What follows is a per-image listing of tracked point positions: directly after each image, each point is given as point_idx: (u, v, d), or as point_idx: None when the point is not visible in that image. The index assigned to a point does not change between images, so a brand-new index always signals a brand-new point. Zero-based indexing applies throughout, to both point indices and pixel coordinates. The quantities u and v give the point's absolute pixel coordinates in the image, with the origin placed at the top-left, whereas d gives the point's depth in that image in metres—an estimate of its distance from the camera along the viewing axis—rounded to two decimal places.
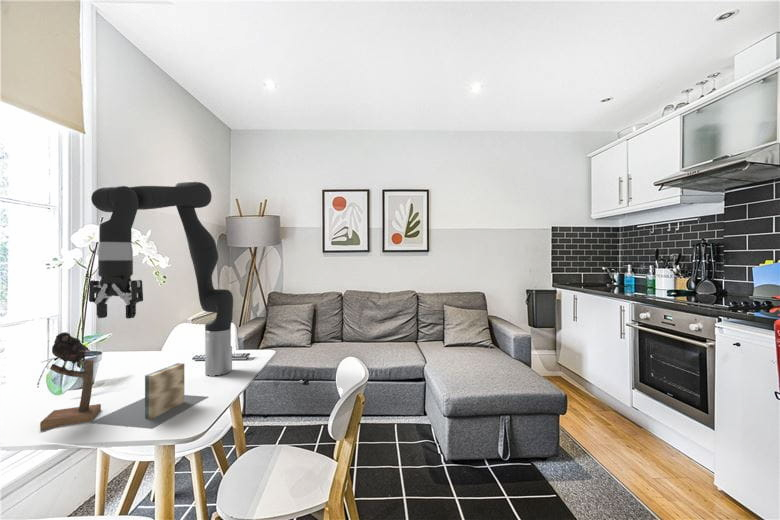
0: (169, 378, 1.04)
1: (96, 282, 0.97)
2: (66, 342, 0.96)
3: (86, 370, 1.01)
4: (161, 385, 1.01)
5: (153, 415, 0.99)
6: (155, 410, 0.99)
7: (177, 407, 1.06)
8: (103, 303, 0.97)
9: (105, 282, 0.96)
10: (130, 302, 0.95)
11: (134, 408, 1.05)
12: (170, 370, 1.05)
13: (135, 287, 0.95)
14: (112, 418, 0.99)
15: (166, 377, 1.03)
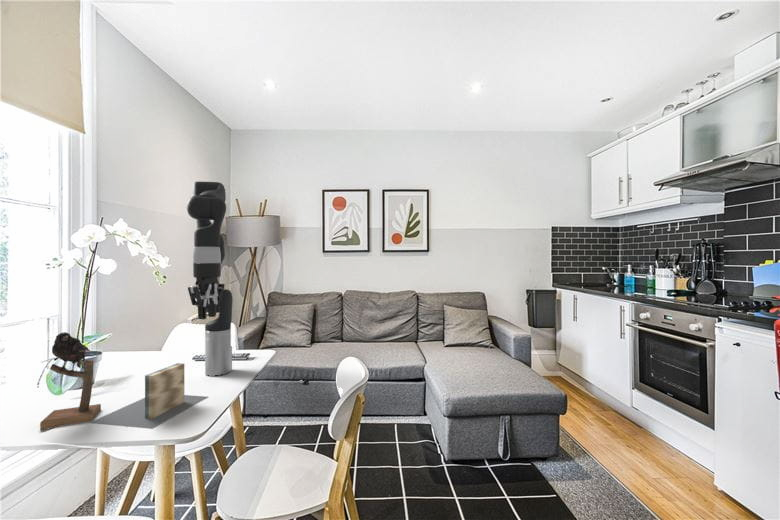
0: (169, 378, 1.04)
1: None
2: (66, 342, 0.96)
3: (86, 370, 1.01)
4: (161, 385, 1.01)
5: (153, 415, 0.99)
6: (155, 410, 0.99)
7: (177, 407, 1.06)
8: None
9: (205, 283, 1.06)
10: None
11: (134, 408, 1.05)
12: (170, 370, 1.05)
13: None
14: (112, 418, 0.99)
15: (166, 377, 1.03)
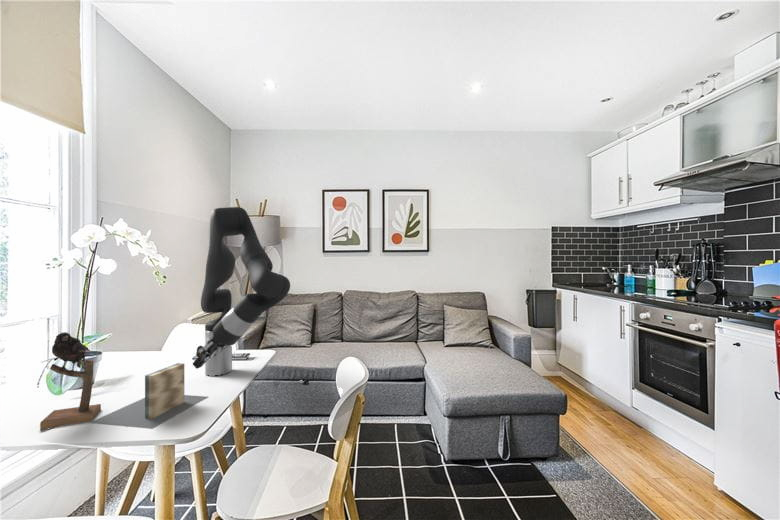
0: (169, 378, 1.04)
1: (205, 349, 0.97)
2: (66, 342, 0.96)
3: (86, 370, 1.01)
4: (161, 385, 1.01)
5: (153, 415, 0.99)
6: (155, 410, 0.99)
7: (177, 407, 1.06)
8: None
9: (217, 344, 0.99)
10: None
11: (134, 408, 1.05)
12: (170, 370, 1.05)
13: None
14: (112, 418, 0.99)
15: (166, 377, 1.03)
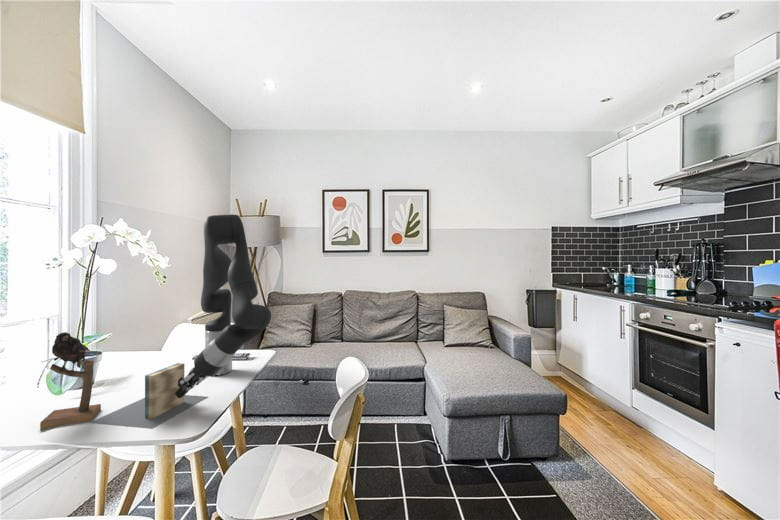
0: (169, 378, 1.04)
1: (186, 381, 0.98)
2: (66, 342, 0.96)
3: (86, 370, 1.01)
4: (161, 385, 1.01)
5: (153, 415, 0.99)
6: (155, 410, 0.99)
7: (177, 407, 1.06)
8: None
9: (199, 375, 1.00)
10: None
11: (134, 408, 1.05)
12: (170, 370, 1.05)
13: None
14: (112, 418, 0.99)
15: (166, 377, 1.03)
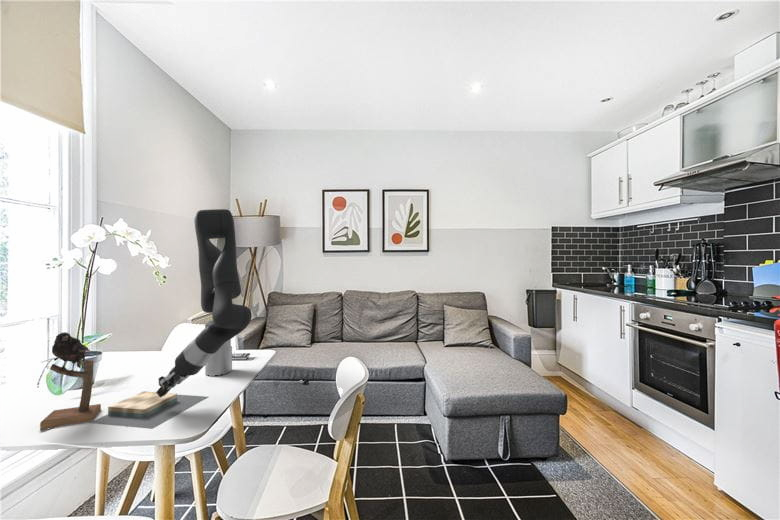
0: (134, 399, 1.06)
1: (167, 380, 0.99)
2: (66, 342, 0.96)
3: (86, 370, 1.01)
4: (129, 403, 1.03)
5: (143, 408, 0.99)
6: (141, 407, 1.00)
7: (177, 407, 1.06)
8: None
9: (179, 374, 1.01)
10: None
11: None
12: (129, 398, 1.07)
13: None
14: (112, 418, 0.99)
15: (130, 400, 1.05)
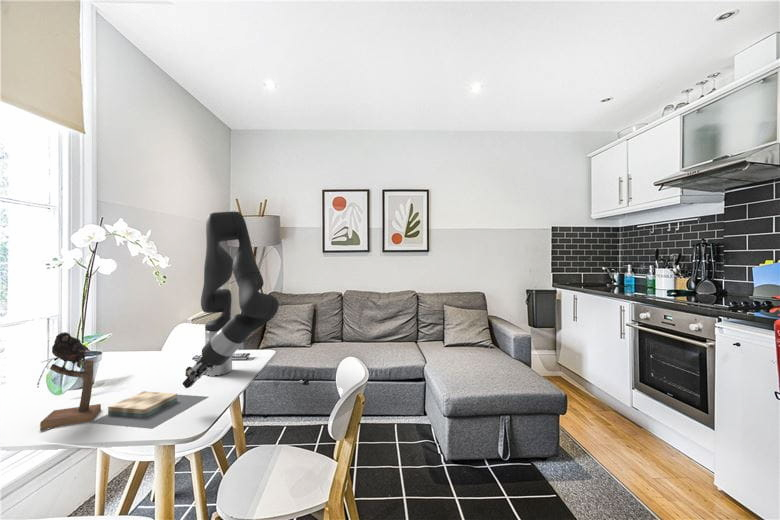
0: (134, 399, 1.06)
1: (194, 370, 0.97)
2: (66, 342, 0.96)
3: (86, 370, 1.01)
4: (129, 403, 1.03)
5: (143, 408, 0.99)
6: (141, 407, 1.00)
7: (177, 407, 1.06)
8: None
9: (206, 365, 1.00)
10: None
11: None
12: (129, 398, 1.07)
13: None
14: (112, 418, 0.99)
15: (130, 400, 1.05)
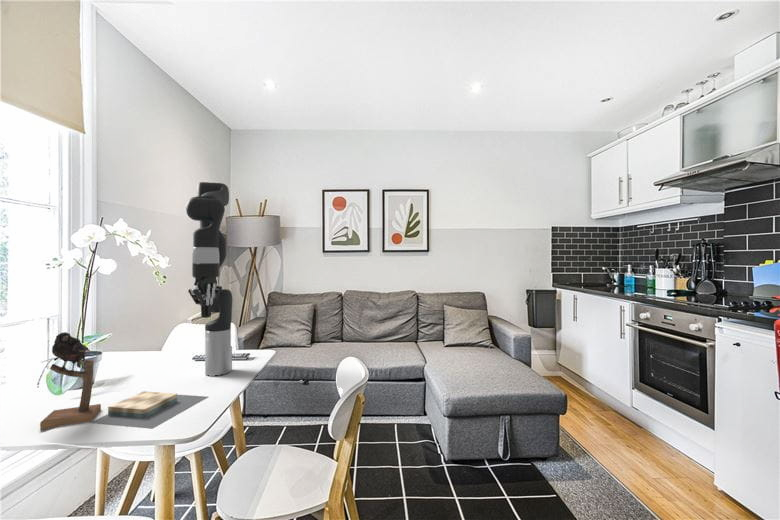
0: (134, 399, 1.06)
1: None
2: (66, 342, 0.96)
3: (86, 370, 1.01)
4: (129, 403, 1.03)
5: (143, 408, 0.99)
6: (141, 407, 1.00)
7: (177, 407, 1.06)
8: None
9: (204, 282, 1.08)
10: None
11: None
12: (129, 398, 1.07)
13: None
14: (112, 418, 0.99)
15: (130, 400, 1.05)
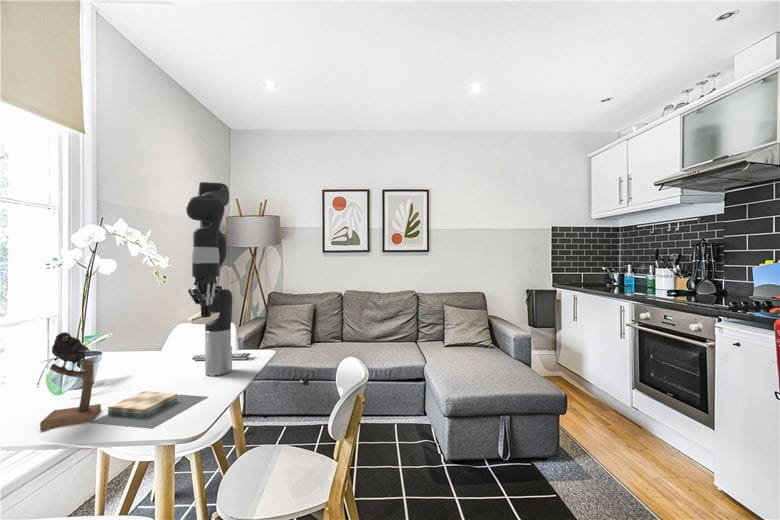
0: (134, 399, 1.06)
1: (196, 288, 1.05)
2: (66, 342, 0.96)
3: (86, 370, 1.01)
4: (129, 403, 1.03)
5: (143, 408, 0.99)
6: (141, 407, 1.00)
7: (177, 407, 1.06)
8: None
9: (204, 282, 1.08)
10: None
11: None
12: (129, 398, 1.07)
13: None
14: (112, 418, 0.99)
15: (130, 400, 1.05)
